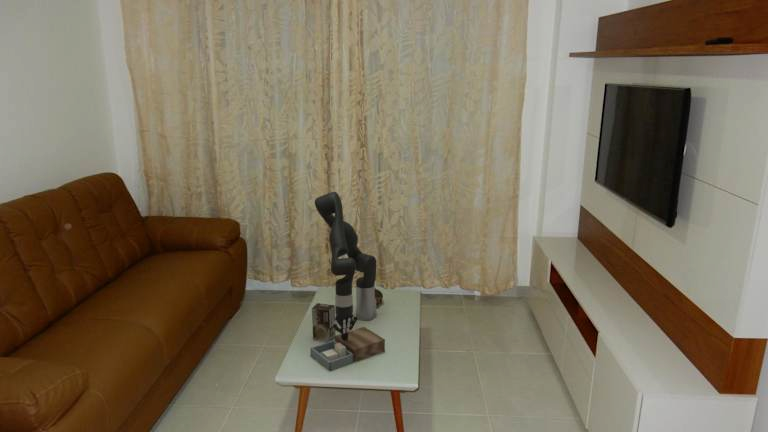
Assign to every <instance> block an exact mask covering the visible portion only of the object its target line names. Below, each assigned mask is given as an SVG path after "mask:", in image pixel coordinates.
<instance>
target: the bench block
mask: <svg viewBox="0 0 768 432" xmlns="http://www.w3.org/2000/svg"><path fill="white" fill-rule="evenodd" d="M334 341H335V342H337V343H341V344H342V345H344V346H345V347H346V349H347V350H348V351H350V352H351V353H353V354H354V363H357V362H361V361H363V360H366V359H368V358H371V357H374V356H377V355H379V354H383V353H385V351H386V350H385V349H386V348H385V347H386V343H385V342H386V339H385V338H383V337H381V336H380V335H378V334H377V333H375V332H374V331H372V330H370V329H369V328H367V327H365V326H362V327H359V328H355V329H352V330H349V332H348V340H346V341H344V340H342V339H341V333H339V334H337V335H336V334H335V338H334Z"/></svg>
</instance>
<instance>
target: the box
mask: <svg viewBox="0 0 768 432" xmlns="http://www.w3.org/2000/svg"><path fill="white" fill-rule="evenodd" d="M335 344H337V342H335V339H333V341H330V342H323V343H321V344H318V345H315V346H312V347H310V348H309V350H310V357H311V358H312V359H314V360H315V361H316V362H317V363H319V364H320V365H321V366H323V367H324V368H325V369H326V370H328V371H329V372H332V371H334V370H338V369H340V368H343V367H346V366H349V365H351V364H354V363H355V362H354V354H353V353H351V352H350V351H348V350H347V349H346V356H344V357H341V358H339V357H338V359H335V360H333V361H329V360H328V359H327V358H325V357H324V356H323V355H322V352H324V351H327V350H331V349H333V350H334V351H335Z"/></svg>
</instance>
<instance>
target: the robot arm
mask: <svg viewBox="0 0 768 432" xmlns="http://www.w3.org/2000/svg"><path fill="white" fill-rule="evenodd" d="M339 195H340V194H338V192H336V191H331V192H328V193H325V194H323V195H321V196H318V197H316V198H315V200H314V206H315V209H316V211H317V212H318V214H319V215H320V216H321V217H322V219H323V221H324V222H325V223H326V224H327V226H328V227H329V228H330V231H329V239H328V240H329V245H330V249H331V261H330V262H331V264H330V271H331V273H332V275H334V276H336V277H337V276H338V277H339V276H343V277H341V278H339V279H337V280H336V281H335V283H334V284H335V285H334V286H335V297H334V300H335V303H334V305H335V321H334V322H333V323H331V325H332V326H333V327H334V328H335V332H338V333H339V334H341V339H342V340H344V341H346V340H348V332H349V331H352V330H353V328H354V326H355V325H356V323H357V321H358V320H359V321H363V322H367V321H372V320H374V319H375V318H377V305H376V299H375V291H374V287H375V286H376V285H375V282H376V278H377V265H378V264H377V259H376V257H375V256H374V255H370V254H367V253H363V252H362V251H361V249H360V248H359V247H358V242H359V236H358V234H357V231H356V230H355V229H354V227H353V225H351V224H350V223H349V222H347V221H346V220H345V219H344V210H343V209H344V208H343V203H342V199H341V197H340V196H339ZM333 214H334V215H333ZM345 255H347V257H342V256H345ZM339 257H342V258H339ZM356 272H360V273H362V274H363V276H362V277H361V276H360V277H359V278H356V280H355V294H356V295H355V301H356V303H355V306H356V308H355V310H356V311H355V312H356V316H355V315H354V314H353V313H354V299H353V297H354V295H353V281H354V276H355V273H356Z"/></svg>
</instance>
